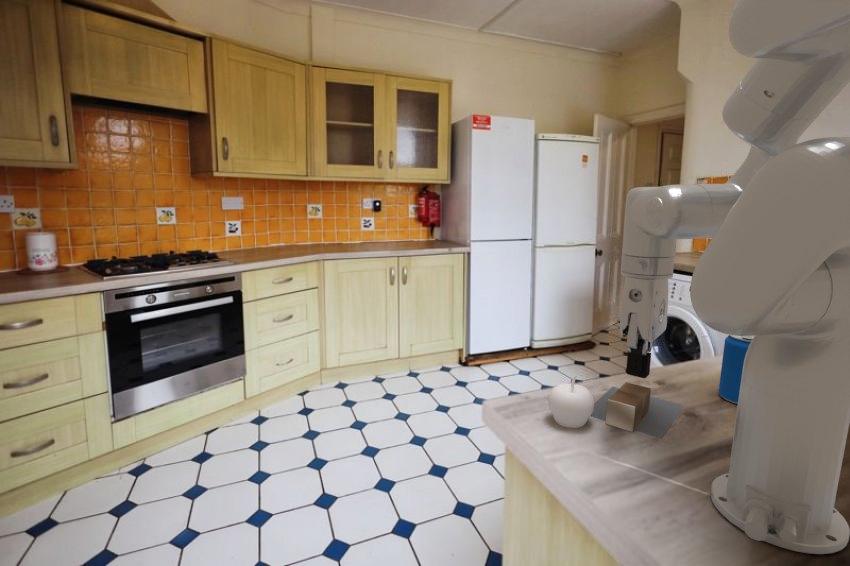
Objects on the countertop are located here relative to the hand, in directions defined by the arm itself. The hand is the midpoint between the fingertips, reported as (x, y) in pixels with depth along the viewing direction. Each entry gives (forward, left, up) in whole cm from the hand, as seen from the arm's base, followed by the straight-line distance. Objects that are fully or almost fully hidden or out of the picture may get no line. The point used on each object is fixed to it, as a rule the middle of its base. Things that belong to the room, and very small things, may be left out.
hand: (637, 374), depth 76 cm
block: (+1, 0, -4) cm, 4 cm away
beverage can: (+16, -13, -7) cm, 22 cm away
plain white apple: (-11, +7, -7) cm, 14 cm away
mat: (0, 0, -7) cm, 7 cm away
